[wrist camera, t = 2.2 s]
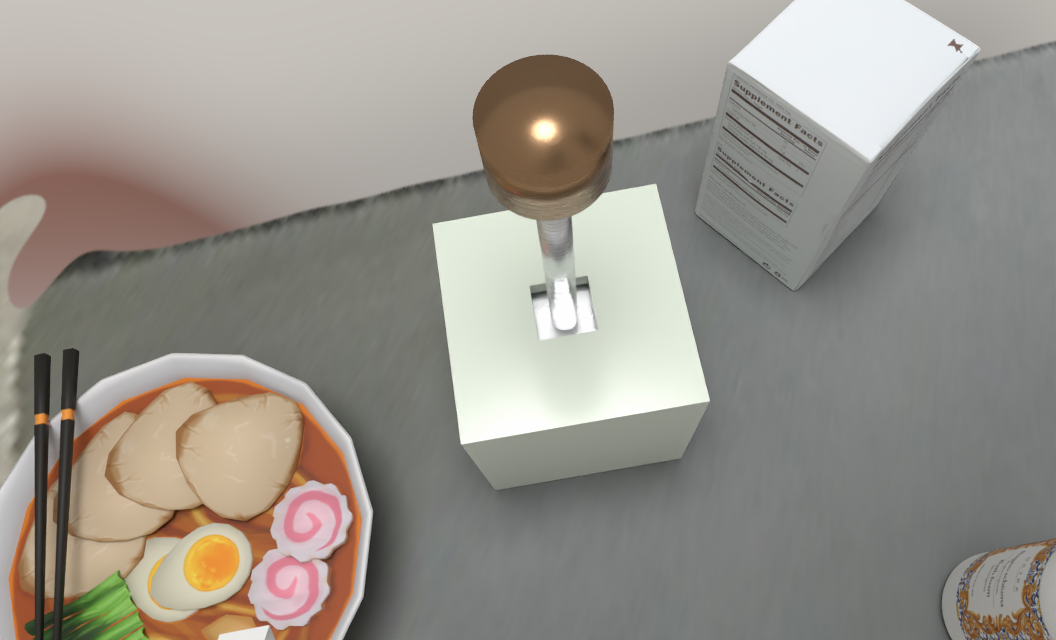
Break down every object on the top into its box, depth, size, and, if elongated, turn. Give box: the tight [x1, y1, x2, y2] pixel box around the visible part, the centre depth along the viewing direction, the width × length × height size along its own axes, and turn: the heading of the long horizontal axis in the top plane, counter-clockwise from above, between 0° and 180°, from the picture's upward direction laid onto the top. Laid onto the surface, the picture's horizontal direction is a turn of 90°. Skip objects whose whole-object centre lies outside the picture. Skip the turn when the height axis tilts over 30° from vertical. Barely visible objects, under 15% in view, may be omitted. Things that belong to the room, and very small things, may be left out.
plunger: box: [473, 55, 614, 340], centre depth 34 cm, size 9×9×19 cm
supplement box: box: [695, 0, 980, 291], centre depth 49 cm, size 10×9×17 cm
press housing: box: [433, 184, 710, 490], centre depth 47 cm, size 12×12×14 cm
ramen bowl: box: [0, 348, 373, 640], centre depth 48 cm, size 25×23×8 cm
